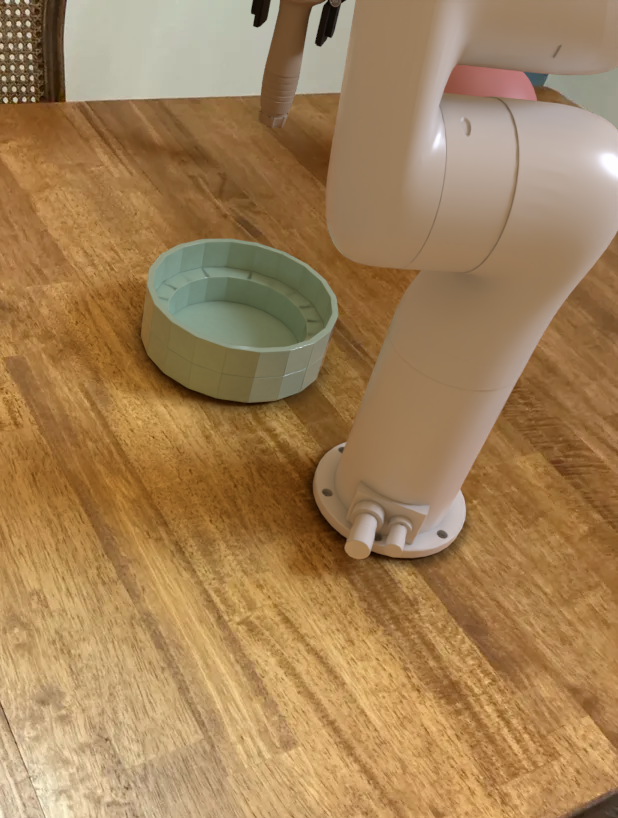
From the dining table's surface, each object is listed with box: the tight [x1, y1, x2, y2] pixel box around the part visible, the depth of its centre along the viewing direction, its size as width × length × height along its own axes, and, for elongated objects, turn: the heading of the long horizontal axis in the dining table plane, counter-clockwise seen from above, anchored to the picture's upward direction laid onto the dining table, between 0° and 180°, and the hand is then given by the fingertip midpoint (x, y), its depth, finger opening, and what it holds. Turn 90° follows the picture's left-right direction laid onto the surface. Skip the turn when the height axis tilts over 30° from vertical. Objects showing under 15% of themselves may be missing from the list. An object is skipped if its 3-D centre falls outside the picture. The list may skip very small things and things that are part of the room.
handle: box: [258, 0, 327, 129], centre depth 97 cm, size 5×6×15 cm
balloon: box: [443, 65, 538, 101], centre depth 106 cm, size 15×20×15 cm
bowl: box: [140, 238, 339, 404], centre depth 80 cm, size 17×17×6 cm
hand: (290, 31), depth 95 cm, fingers closed on handle, 6 cm apart
